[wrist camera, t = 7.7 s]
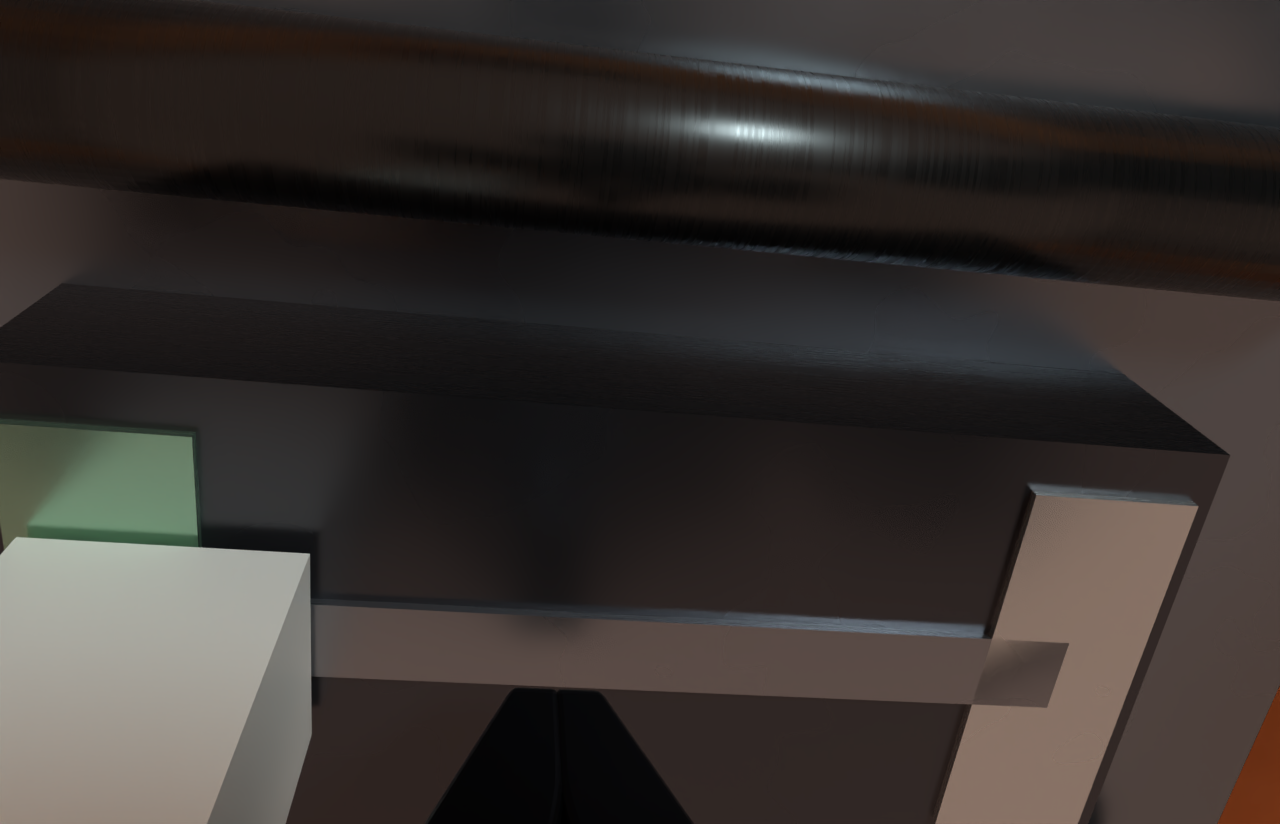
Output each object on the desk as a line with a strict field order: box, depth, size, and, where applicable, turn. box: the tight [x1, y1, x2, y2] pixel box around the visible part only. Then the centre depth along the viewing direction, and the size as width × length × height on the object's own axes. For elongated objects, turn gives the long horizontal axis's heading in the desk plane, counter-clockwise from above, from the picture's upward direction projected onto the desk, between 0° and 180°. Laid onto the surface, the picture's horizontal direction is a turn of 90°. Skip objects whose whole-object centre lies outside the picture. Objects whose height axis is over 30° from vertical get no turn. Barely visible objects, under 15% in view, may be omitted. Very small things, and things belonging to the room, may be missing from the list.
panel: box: [0, 0, 1280, 824], centre depth 12 cm, size 18×13×4 cm
